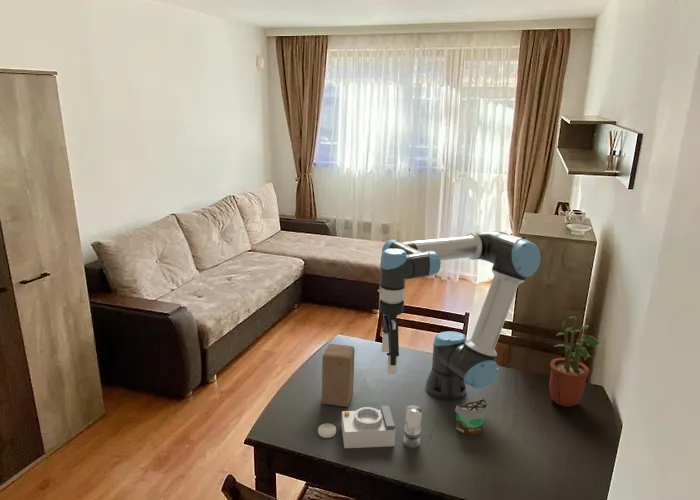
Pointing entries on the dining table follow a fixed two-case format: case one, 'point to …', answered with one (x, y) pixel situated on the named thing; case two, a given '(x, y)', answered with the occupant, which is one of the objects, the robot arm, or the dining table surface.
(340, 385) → the wooden block
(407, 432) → the grey tall rounded cylinder
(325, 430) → the rear cap
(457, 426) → the food container
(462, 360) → the robot arm
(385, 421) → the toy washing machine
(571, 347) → the potted plant
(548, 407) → the dining table surface
